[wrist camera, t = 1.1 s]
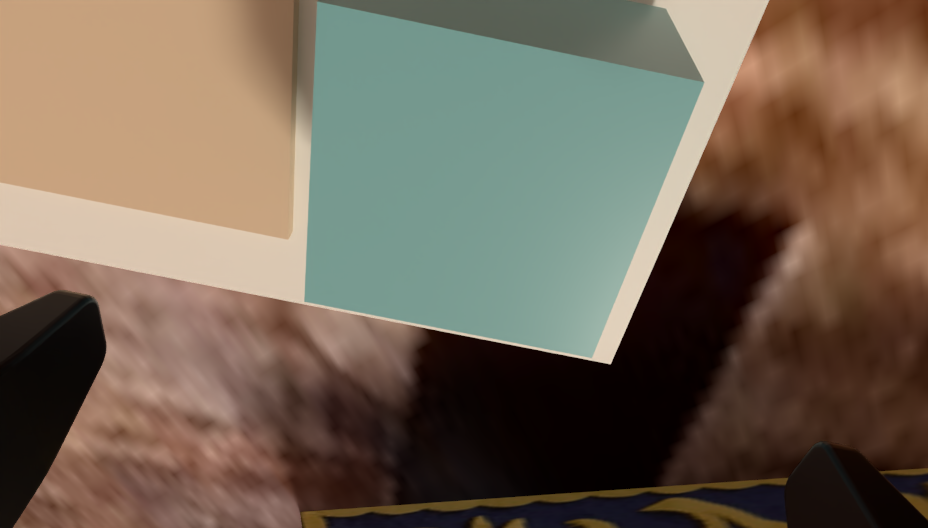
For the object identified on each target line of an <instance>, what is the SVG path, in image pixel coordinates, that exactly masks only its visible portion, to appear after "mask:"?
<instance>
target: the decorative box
mask: <svg viewBox="0 0 928 528" xmlns="http://www.w3.org/2000/svg"><path fill="white" fill-rule="evenodd" d="M879 472H880V473H881V474H882V475H883V476H884V477H885V478H886V479H887V480H888V481H889V482H890V483H891V484H892V485H893V486H894V487H895V488H896V489H897V490H898V491H899V492H900V493H901V494H902V495H903V496H904V497H905V498H906V499H907V500H908V501H909V502H910V503H911V504H912V505H913V506H914V507H915V508H916V509H917V510H918V511H919V512H920V513H921V514H922V515H923V516H924V517H925V518H926V519H927V520H928V468H922V469H907V470H893V471H879ZM787 480H788V478H779V479H764V480H750V481H736V482H722V483H707V484H693V485H679V486H664V487H650V488H636V489H622V490H607V491H593V492H579V493H564V494H550V495H536V496H522V497H507V498H493V499H479V500H464V501H450V502H436V503H422V504H407V505H393V506H379V507H364V508H350V509H336V510H322V511H307V512H300V515H301V522H302V528H787V519H786V510H785V501H784V490H785V485H786V482H787Z"/></svg>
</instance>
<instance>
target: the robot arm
mask: <svg viewBox="0 0 928 528" xmlns="http://www.w3.org/2000/svg"><path fill="white" fill-rule="evenodd" d="M105 354H106V339H105V334H104V329H103V324H102V319H101V314H100V309H99V305H98V302H97V301H96V299H95V298H94V297H92V296H90V295H86V294H81V293H76V292H71V291H66V290H58V291H54V292H52V293H49V294H47V295H45V296H43V297H40V298H38V299H36V300H34V301H32V302H30V303H27V304H25V305H23V306H21V307H19V308H17V309H14V310H12V311H10V312H8V313H6V314H3V315H1V316H0V528H13V527H14V525H15V523H16V522H17V520H18V519H19V517H20V516H21V514H22V513H23V511H24V509H25V508H26V506H27V505H28V503H29V502H30V500H31V499H32V497H33V495H34V494H35V492H36V491H37V489H38V487H39V486H40V484H41V483H42V481H43V479H44V478H45V476H46V474H47V473H48V471H49V469H50V467H51V465H52V463H53V461H54V460H55V458H56V456H57V454H58V452H59V450H60V448H61V446H62V444H63V442H64V440H65V438H66V436H67V434H68V432H69V430H70V428H71V426H72V424H73V422H74V420H75V418H76V416H77V414H78V412H79V410H80V408H81V406H82V404H83V402H84V400H85V398H86V396H87V394H88V392H89V390H90V388H91V386H92V384H93V382H94V380H95V378H96V376H97V374H98V372H99V370H100V368H101V366H102V363H103V361H104V358H105ZM784 501H785V510H786V519H787V528H928V520H927V519H926V518H925V517H924V516H923V515H922V514H921V513H920V512H919V511H918V510H917V509H916V508H915V507H914V506H913V505H912V504H911V503H910V502H909V501H908V500H907V499H906V498H905V497H904V496H903V495H902V494H901V493H900V492H899V491H898V490H897V489H896V488H895V487H894V486H893V485H892V484H891V483H890V482H889V481H888V480H887V479H886V478H885V477H884V476H883V475H882V474H881V473H880V472H879V471H878V470H877V469H876V468H875V467H874V466H873V465H872V464H871V463H870V462H869V461H868V460H867V459H866V458H865V457H864V456H863V455H862V454H861V453H860V452H859V451H858V450H856V449H855V448H853V447H850V446H847V445H842V444H837V443H832V442H827V441H821V442H819V443H816V444H815V445H814V446H813V447H812V448H811V449H810V450H809V452H808V453H807V454H806V455H805V457H804V458H803V459H802V461H801V462H800V463H799V465H798V466H797V467H796V468H795V470H794V471H793V472H792V474H791V475H790V476H789V478H788V480H787V482H786V485H785V490H784Z"/></svg>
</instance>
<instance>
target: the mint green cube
mask: <svg viewBox="0 0 928 528" xmlns="http://www.w3.org/2000/svg"><path fill="white" fill-rule="evenodd" d="M704 83H705V82H704V81H703V79H702V77H701V75H700V73H699V71H698V69H697V67H696V65H695V63H694V61H693V59H692V58H691V56H690V54H689V52H688V50H687V48H686V46H685V44H684V42H683V40H682V38H681V37H680V35H679V33H678V31H677V29H676V27H675V25H674V23H673V21H672V19H671V17H670V16H669V14H668V12H667V10H666V8H661V7H656V6H651V5H647V4H642V3H637V2H633V1H628V0H318V1H317V17H316V40H315V64H314V87H313V110H312V134H311V157H310V180H309V203H308V227H307V250H306V273H305V297H304V302H308V303H313V304H319V305H324V306H329V307H334V308H339V309H344V310H349V311H354V312H359V313H365V314H370V315H375V316H380V317H385V318H390V319H395V320H400V321H405V322H410V323H416V324H421V325H426V326H431V327H436V328H441V329H446V330H451V331H456V332H461V333H467V334H472V335H477V336H482V337H487V338H492V339H497V340H502V341H507V342H513V343H518V344H523V345H528V346H533V347H538V348H543V349H548V350H553V351H558V352H564V353H569V354H574V355H579V356H584V357H589V358H592V357H593V354H594V352H595V349H596V347H597V345H598V342H599V340H600V337H601V335H602V332H603V330H604V327H605V325H606V322H607V320H608V318H609V315H610V313H611V310H612V308H613V305H614V303H615V300H616V298H617V296H618V293H619V291H620V288H621V286H622V283H623V281H624V278H625V276H626V274H627V271H628V269H629V266H630V264H631V261H632V259H633V256H634V254H635V251H636V249H637V247H638V244H639V242H640V239H641V237H642V234H643V232H644V229H645V227H646V225H647V222H648V220H649V217H650V215H651V212H652V210H653V207H654V205H655V203H656V200H657V198H658V195H659V193H660V190H661V188H662V185H663V183H664V180H665V178H666V176H667V173H668V171H669V168H670V166H671V163H672V161H673V158H674V156H675V154H676V151H677V149H678V146H679V144H680V141H681V139H682V136H683V134H684V132H685V129H686V127H687V124H688V122H689V119H690V117H691V114H692V112H693V109H694V107H695V105H696V102H697V100H698V97H699V95H700V92H701V90H702V87H703V85H704Z"/></svg>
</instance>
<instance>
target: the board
mask: <svg viewBox="0 0 928 528" xmlns="http://www.w3.org/2000/svg"><path fill="white" fill-rule="evenodd" d="M317 1H318V0H0V245H4V246H9V247H15V248H20V249H25V250H30V251H35V252H40V253H45V254H50V255H55V256H60V257H66V258H71V259H76V260H81V261H86V262H91V263H96V264H101V265H106V266H111V267H117V268H122V269H127V270H132V271H137V272H142V273H147V274H152V275H157V276H162V277H168V278H173V279H178V280H183V281H188V282H193V283H198V284H203V285H208V286H213V287H219V288H224V289H229V290H234V291H239V292H244V293H249V294H254V295H259V296H264V297H270V298H275V299H280V300H285V301H290V302H295V303H300V304H305V305H310V306H316V307H321V308H326V309H331V310H336V311H341V312H346V313H351V314H356V315H361V316H367V317H372V318H377V319H382V320H387V321H392V322H397V323H402V324H407V325H412V326H418V327H423V328H428V329H433V330H438V331H443V332H448V333H453V334H458V335H463V336H469V337H474V338H479V339H484V340H489V341H494V342H499V343H504V344H509V345H514V346H520V347H525V348H530V349H535V350H540V351H545V352H550V353H555V354H560V355H565V356H571V357H576V358H581V359H586V360H591V361H596V362H601V363H606V364H611V362H612V360H613V358H614V356H615V353H616V351H617V349H618V346H619V344H620V342H621V339H622V337H623V335H624V333H625V330H626V328H627V326H628V323H629V321H630V319H631V317H632V314H633V312H634V310H635V307H636V305H637V303H638V300H639V298H640V296H641V294H642V291H643V289H644V287H645V284H646V282H647V280H648V277H649V275H650V273H651V271H652V268H653V266H654V264H655V261H656V259H657V257H658V254H659V252H660V250H661V248H662V245H663V243H664V241H665V238H666V236H667V234H668V231H669V229H670V227H671V225H672V222H673V220H674V218H675V215H676V213H677V211H678V209H679V206H680V204H681V202H682V199H683V197H684V195H685V192H686V190H687V188H688V186H689V183H690V181H691V179H692V176H693V174H694V172H695V169H696V167H697V165H698V163H699V160H700V158H701V156H702V153H703V151H704V149H705V146H706V144H707V142H708V140H709V137H710V135H711V133H712V130H713V128H714V126H715V123H716V121H717V119H718V117H719V114H720V112H721V110H722V107H723V105H724V103H725V101H726V98H727V96H728V94H729V91H730V89H731V87H732V84H733V82H734V80H735V78H736V75H737V73H738V71H739V68H740V66H741V64H742V61H743V59H744V57H745V55H746V52H747V50H748V48H749V45H750V43H751V41H752V38H753V36H754V34H755V32H756V29H757V27H758V25H759V22H760V20H761V18H762V15H763V13H764V11H765V9H766V6H767V4H768V2H769V0H628V1H633V2H637V3H642V4H647V5H651V6H656V7H661V8H666V10H667V12H668V14H669V16H670V17H671V19H672V21H673V23H674V25H675V27H676V29H677V31H678V33H679V35H680V37H681V38H682V40H683V42H684V44H685V46H686V48H687V50H688V52H689V54H690V56H691V58H692V59H693V61H694V63H695V65H696V67H697V69H698V71H699V73H700V75H701V77H702V79H703V81H704V82H705V83H704V85H703V87H702V90H701V92H700V95H699V97H698V100H697V102H696V105H695V107H694V109H693V112H692V114H691V117H690V119H689V122H688V124H687V127H686V129H685V132H684V134H683V136H682V139H681V141H680V144H679V146H678V149H677V151H676V154H675V156H674V158H673V161H672V163H671V166H670V168H669V171H668V173H667V176H666V178H665V180H664V183H663V185H662V188H661V190H660V193H659V195H658V198H657V200H656V203H655V205H654V207H653V210H652V212H651V215H650V217H649V220H648V222H647V225H646V227H645V229H644V232H643V234H642V237H641V239H640V242H639V244H638V247H637V249H636V251H635V254H634V256H633V259H632V261H631V264H630V266H629V269H628V271H627V274H626V276H625V278H624V281H623V283H622V286H621V288H620V291H619V293H618V296H617V298H616V300H615V303H614V305H613V308H612V310H611V313H610V315H609V318H608V320H607V322H606V325H605V327H604V330H603V332H602V335H601V337H600V340H599V342H598V345H597V347H596V349H595V352H594V354H593V357H592V358H589V357H584V356H579V355H574V354H569V353H564V352H558V351H553V350H548V349H543V348H538V347H533V346H528V345H523V344H518V343H513V342H507V341H502V340H497V339H492V338H487V337H482V336H477V335H472V334H467V333H461V332H456V331H451V330H446V329H441V328H436V327H431V326H426V325H421V324H416V323H410V322H405V321H400V320H395V319H390V318H385V317H380V316H375V315H370V314H365V313H359V312H354V311H349V310H344V309H339V308H334V307H329V306H324V305H319V304H313V303H308V302H304V297H305V273H306V250H307V227H308V203H309V180H310V157H311V134H312V110H313V87H314V64H315V40H316V17H317Z"/></svg>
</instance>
